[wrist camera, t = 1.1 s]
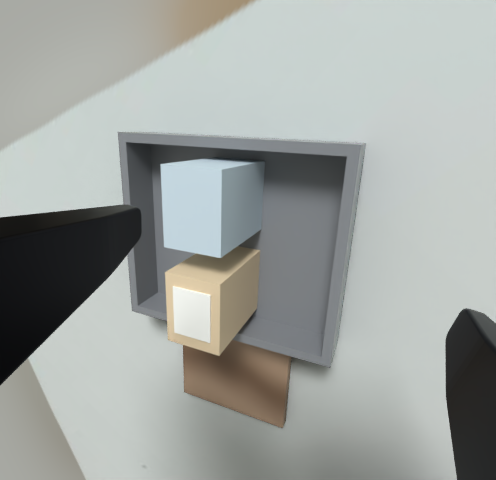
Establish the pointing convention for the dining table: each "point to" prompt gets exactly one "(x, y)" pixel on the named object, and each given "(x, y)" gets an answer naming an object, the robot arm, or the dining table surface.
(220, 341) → the carton tan
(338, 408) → the dining table surface
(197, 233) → the carton blue
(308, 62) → the dining table surface
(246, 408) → the board
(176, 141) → the bin
